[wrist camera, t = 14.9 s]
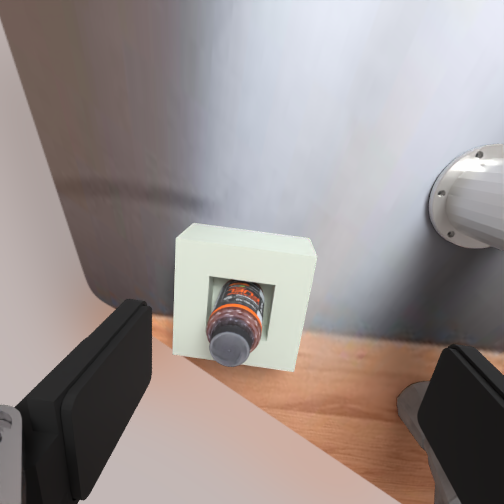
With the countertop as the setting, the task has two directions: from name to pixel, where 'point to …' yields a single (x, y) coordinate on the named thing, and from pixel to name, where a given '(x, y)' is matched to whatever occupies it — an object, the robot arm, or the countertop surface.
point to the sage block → (246, 269)
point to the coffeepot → (424, 440)
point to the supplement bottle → (236, 322)
